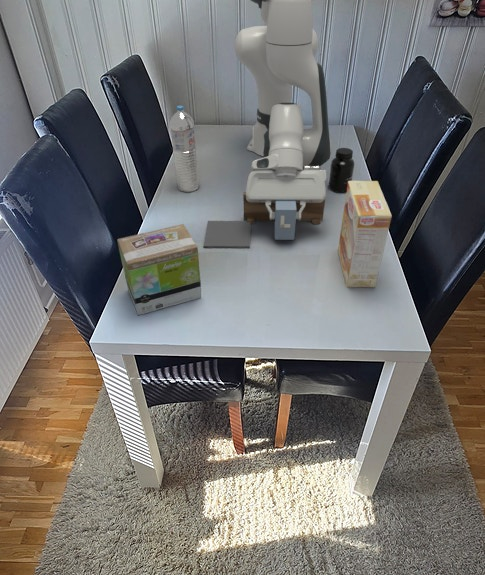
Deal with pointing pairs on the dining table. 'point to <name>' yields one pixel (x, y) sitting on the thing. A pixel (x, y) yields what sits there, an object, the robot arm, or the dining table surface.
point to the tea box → (161, 268)
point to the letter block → (285, 219)
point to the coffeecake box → (363, 233)
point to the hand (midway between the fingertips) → (285, 219)
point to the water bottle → (184, 150)
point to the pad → (227, 234)
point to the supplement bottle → (341, 170)
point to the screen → (261, 213)
